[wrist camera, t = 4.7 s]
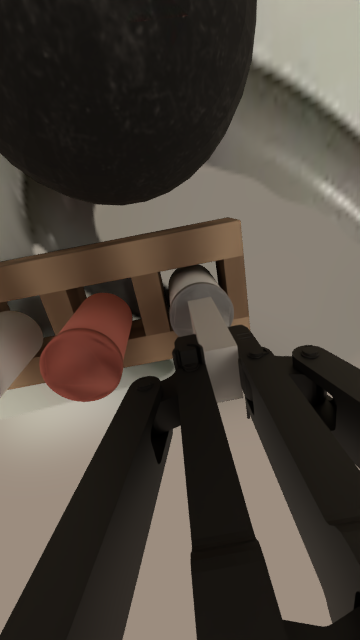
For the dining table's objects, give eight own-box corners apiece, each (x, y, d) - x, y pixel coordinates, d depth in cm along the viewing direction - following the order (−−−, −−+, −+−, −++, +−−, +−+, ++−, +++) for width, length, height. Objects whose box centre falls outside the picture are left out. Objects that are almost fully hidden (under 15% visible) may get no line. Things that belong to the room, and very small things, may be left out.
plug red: (87, 347, 22) (56, 407, 15) (69, 297, 20) (26, 341, 14) (139, 337, 22) (130, 393, 15) (125, 286, 20) (109, 325, 14)
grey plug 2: (172, 312, 25) (176, 349, 19) (163, 267, 24) (163, 291, 17) (217, 303, 25) (236, 338, 19) (211, 257, 24) (230, 278, 17)
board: (19, 366, 28) (-2, 391, 24) (-28, 267, 24) (-63, 279, 20) (239, 324, 27) (251, 343, 24) (227, 217, 23) (240, 220, 20)
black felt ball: (199, 215, 23) (256, 235, 9) (33, 190, 22) (-190, 170, 8) (232, 2, 18) (459, -625, 4) (20, -49, 17) (-642, -1236, 3)
